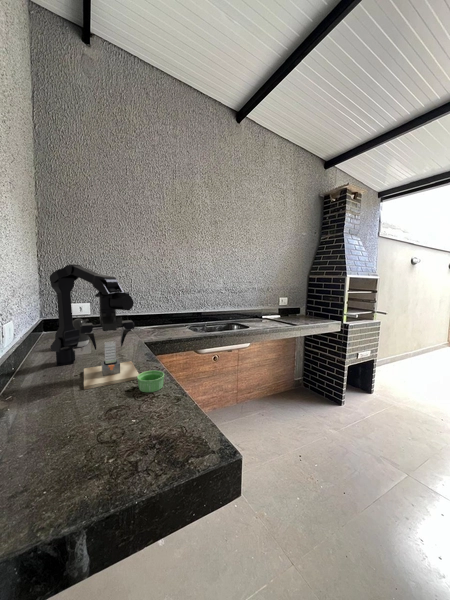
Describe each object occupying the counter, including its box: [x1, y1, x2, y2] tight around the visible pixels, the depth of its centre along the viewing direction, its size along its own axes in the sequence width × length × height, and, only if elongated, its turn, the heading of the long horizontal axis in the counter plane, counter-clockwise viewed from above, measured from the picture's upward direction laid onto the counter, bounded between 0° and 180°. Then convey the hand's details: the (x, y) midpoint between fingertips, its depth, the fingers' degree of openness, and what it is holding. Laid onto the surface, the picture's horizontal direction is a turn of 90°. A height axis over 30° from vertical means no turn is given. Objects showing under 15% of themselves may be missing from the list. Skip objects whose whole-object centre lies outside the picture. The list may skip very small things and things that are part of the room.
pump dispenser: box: [73, 318, 91, 348], centre depth 130 cm, size 10×10×15 cm
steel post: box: [103, 340, 117, 364], centre depth 92 cm, size 4×4×7 cm
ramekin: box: [136, 369, 165, 393], centre depth 82 cm, size 9×9×4 cm
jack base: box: [83, 358, 140, 390], centre depth 92 cm, size 18×18×5 cm
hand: (108, 347), depth 95 cm, fingers open, 9 cm apart
